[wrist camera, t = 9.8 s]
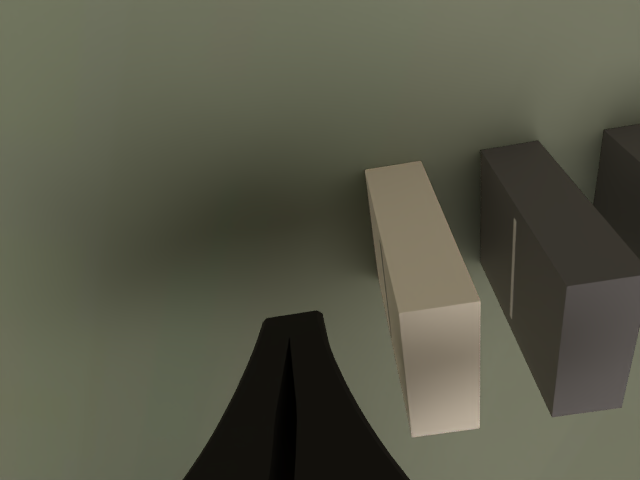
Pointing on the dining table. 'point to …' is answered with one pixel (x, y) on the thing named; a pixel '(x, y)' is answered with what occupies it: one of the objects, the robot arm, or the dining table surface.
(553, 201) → the domino
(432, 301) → the domino
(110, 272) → the dining table surface
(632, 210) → the domino
